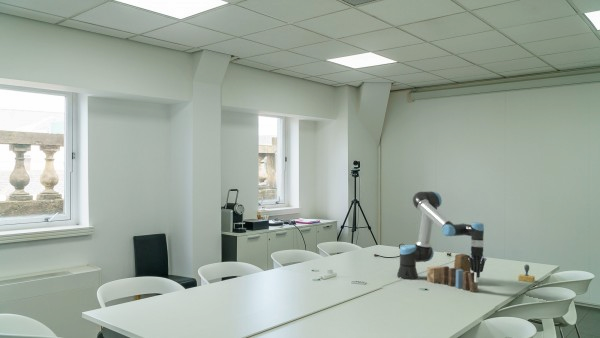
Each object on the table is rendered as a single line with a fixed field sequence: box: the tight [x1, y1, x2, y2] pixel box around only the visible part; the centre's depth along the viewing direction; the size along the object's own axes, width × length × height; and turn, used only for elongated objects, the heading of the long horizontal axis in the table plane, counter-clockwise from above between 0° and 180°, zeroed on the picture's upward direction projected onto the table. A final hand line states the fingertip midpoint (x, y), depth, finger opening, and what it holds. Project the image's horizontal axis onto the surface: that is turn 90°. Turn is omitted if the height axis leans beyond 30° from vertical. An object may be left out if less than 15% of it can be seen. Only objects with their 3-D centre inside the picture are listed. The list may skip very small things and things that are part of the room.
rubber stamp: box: [517, 264, 536, 283], centre depth 340 cm, size 10×6×12 cm, turn 52°
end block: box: [426, 265, 443, 284], centre depth 331 cm, size 6×12×10 cm, turn 122°
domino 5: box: [468, 272, 479, 293], centre depth 305 cm, size 2×5×12 cm, turn 122°
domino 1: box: [441, 265, 450, 285], centre depth 324 cm, size 2×5×12 cm, turn 122°
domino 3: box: [455, 269, 463, 289], centre depth 314 cm, size 2×5×12 cm, turn 122°
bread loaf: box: [453, 253, 471, 272], centre depth 330 cm, size 11×8×20 cm
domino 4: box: [462, 270, 472, 291], centre depth 309 cm, size 2×5×12 cm, turn 122°
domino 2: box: [447, 267, 456, 287], centre depth 319 cm, size 2×5×12 cm, turn 122°
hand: (476, 282), depth 303 cm, fingers closed
